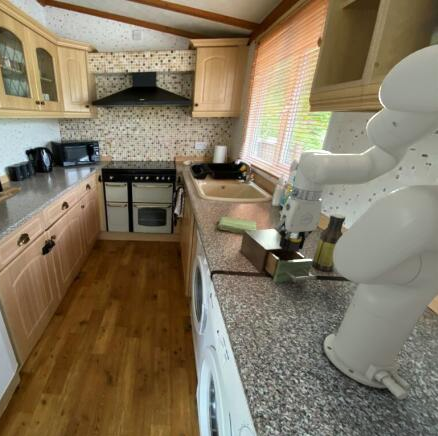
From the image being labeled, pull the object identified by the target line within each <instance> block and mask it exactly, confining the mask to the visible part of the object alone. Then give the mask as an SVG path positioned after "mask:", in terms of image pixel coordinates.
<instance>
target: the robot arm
mask: <svg viewBox="0 0 438 436" xmlns="http://www.w3.org/2000/svg"><path fill="white" fill-rule="evenodd" d="M378 99H379V101H380V104H381V105H382V106H383V108H382V109H381V110H379V111H378V112H377V113H376V114H375V115H373V116H372V117H371V118H370V119H369V120H368V122H367V124H366V127H365V130H366V131H365V132H366V135H367V137H368V139H369V141H370V142H371V143H372V144H373V145H374V146H372V147H370V148H369V149H367V150H366V151H364V152H362V153H332V152H330V151H327V150H321V149H320V150H319V149H308V150H304V151H303V152H302V153H301V155H300V157H299V161H298V163H297V164H298V165H297V168H296V172H295V177H294V180H293V184H292V188H291V190H289V191H288V195H290V197H288V199H287V201H286V203H285V206H284V205H283V206H284V208H283V207H282V210H283V211H281V215H280V218H279V222H278V223H277V224H276V225H275V226H274V227H273V229H274V230H276V231H278V232H279V233H280V235H281V236H282V237H281V241H280V245H279V246H280V247H281V248H283V249H284V250H288V247H289V243H290V239H289V237H290V235H291V233H292V232H298V235H300V236H301V237H302V239H301V242H300V245H299V250H303V248H304V245H305V242H306V239H308V238H309V235H310V234H311V233H313V232H314V231H315V230H317V229H318V228H319V222H320V220H321V219H320V218H321V214H322V208H323V199H322V195H323V191H324V187H325V185H326V186H328V185H329V186H330V185H334V186H335V185H351V186H352V185H353V186H355V185H356V186H357V185H362V184H367V183H368V182H371V181H373V180H375V179H378V178H379V177H381V176H383V175H385V174H387V173H389V172H391V171H392V170H394V169H396V167H397V166H398V165H399V164H400V163H401V162H402V161H403V159H404V158H405V156H406V155H407V152H408V150H409V148H411V146H413V145H415V144H416V143H418V142H420V141H422V140H424V139H425V138H428V137H429V136H431V135H432V134H434V133H436V132H438V43H437V44H433V45H429V46H426V47H423V48H421V49H419V50H416V51H415V52H412V53H410V54H409V55H407V56H406V57H403V58H402V60H400V61H399V62H397V63H396V64H395V65H394V66H393V67H392V68H391V69H390V70H389V72H388V73H387V74H386V75H385V77H384V79H383V80H382V82H381V84H380V87H379V91H378ZM282 227H283V229H282ZM286 231H288V232H287V233H286ZM342 234H343V235H342V236H341V237H340V238H339V240H338V241H337V243H336V245H335V247H334V250H333V263H334V266H333V267H334V269H336V271H337V273H338V274H340V275H341V276H342V277H343V278H344V279H346V280H348V281H350V282H352V283H355V284H358V286H357V287H356V289H355V291H354V294H353V296H352V298H351V300H350V303H349V305H348V307H347V310H346V313H345V314H344V317H343V319H342V321H341V324H340V326H339V329H338V330H337V332H335V333H330V334H329V335H327V336H326V337H325V338H324V340H323V345H322V346H323V350H324V353H325V355H326V357H327V358H328V359H329V361H330V362H331V363H332V364H333V365H334V366H335V367H336V368H337V369H338V370H339V371H340V372H342V373H343V374H344V375H346V376H348V377H349V378H351V380H352V379H353V380H354V381H356V382H358V383H360V384H362V385H365V386H369V387H371V388H376V389H388V390H389V392H391V393H392V394H393V395H394V396H395V398H397V399H398V400H403V399H405V398H407V397H408V395H409V393H408V391H407V390H409V389H410V388H411V384H409V383H408V382H407V381H406V380H405V379H403V378H402V377H401V376H400V375H399V372H398V369H399V368H400V366H401V365H400V364H399V363H398V362H397V361H396V359H397V358H398V355H399V354H400V352H401V351H402V349H403V347H404V345H405V344H406V342H407V341H408V339H409V338H410V335H411V334H412V332H413V330H415V327H416V326H417V324H418V322H420V319H421V318H422V316H423V314H424V313H425V311H426V310H427V308H428V307H429V305H430V304H431V303H432V302H433V300H434V299H435V298H436V297H437V296H438V184H415V185H408V186H404V187H399V188H396V189H394V190H392V191H391V192H388V193H387V194H385V195H383V196H381V197H380V198H379V199H377V200H376V201H375V202H374V203H373V204H372V205H371V206H370V207H369V208H367V210H366V211H364V212H363V214H361V216H360V217H358V219H357V220H356V221H355V222H353V224H352V225H350V227H349V228H348V229H346V231H345V232H343V233H342Z"/></svg>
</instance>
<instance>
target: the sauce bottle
mask: <svg viewBox="0 0 438 436" xmlns="http://www.w3.org/2000/svg"><path fill="white" fill-rule="evenodd" d="M345 221H346V216H344V215H342V214H337V213H331V214H330V215H329V221H328V225H327V227H326V228H325V229H323V230H322V231H321V234H320V237H319V239H318V243H317V246H316V250H315V254H314V257H313V263H312V266H314V267H315V268H316V269H319V270H321V271H332V270H333V268H334V267H335V266H334V263H333V250H334V247H335V245H336V243H337V241H338V240H339V238H340V237H341V236H342V235H343V234H344V233H343V232H342V228H343V226H344V225H343V224H344V223H345Z"/></svg>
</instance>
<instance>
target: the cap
mask: <svg viewBox="0 0 438 436" xmlns="http://www.w3.org/2000/svg"><path fill="white" fill-rule="evenodd" d="M298 234H299V233H298ZM298 234H295V233H291V235H290V237H289V239H290V243H289V247H288V251H293V252H295V251H298V249H299V245H300V242H301V239H302V237H301V236H300V235H298ZM299 250H300V249H299Z"/></svg>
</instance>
